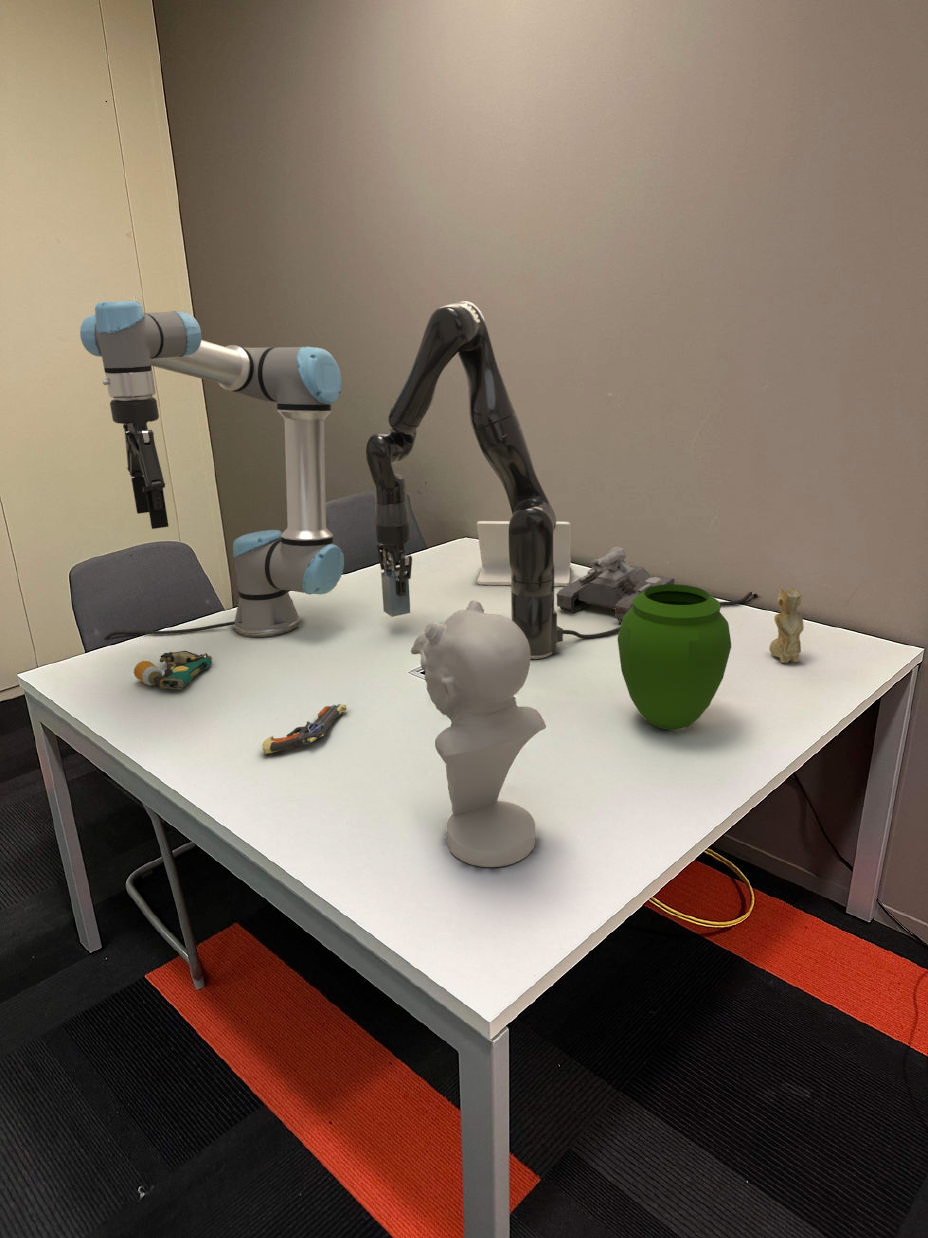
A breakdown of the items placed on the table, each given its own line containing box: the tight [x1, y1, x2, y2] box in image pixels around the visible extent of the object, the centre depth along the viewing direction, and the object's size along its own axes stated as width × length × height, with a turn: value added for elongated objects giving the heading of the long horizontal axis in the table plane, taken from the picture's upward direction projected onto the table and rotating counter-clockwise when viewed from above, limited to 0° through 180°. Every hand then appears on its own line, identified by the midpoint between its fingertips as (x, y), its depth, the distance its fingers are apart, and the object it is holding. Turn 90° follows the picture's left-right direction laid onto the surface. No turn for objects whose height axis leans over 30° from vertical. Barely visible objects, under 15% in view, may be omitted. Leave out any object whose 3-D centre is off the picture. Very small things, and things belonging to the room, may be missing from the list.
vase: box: [616, 583, 732, 731], centre depth 151 cm, size 20×20×24 cm
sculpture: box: [768, 587, 805, 664], centre depth 178 cm, size 6×7×15 cm
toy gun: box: [262, 703, 348, 755], centre depth 155 cm, size 3×19×10 cm
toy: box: [556, 546, 676, 622], centre depth 212 cm, size 25×20×15 cm
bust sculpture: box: [410, 599, 547, 868], centre depth 121 cm, size 16×24×35 cm
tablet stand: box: [476, 520, 572, 587], centre depth 236 cm, size 18×25×17 cm
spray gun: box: [133, 650, 213, 690], centre depth 180 cm, size 4×17×15 cm
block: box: [380, 571, 411, 618], centre depth 198 cm, size 5×5×10 cm
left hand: (152, 519), depth 153 cm, fingers open, 13 cm apart
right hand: (396, 592), depth 198 cm, fingers closed on block, 4 cm apart
